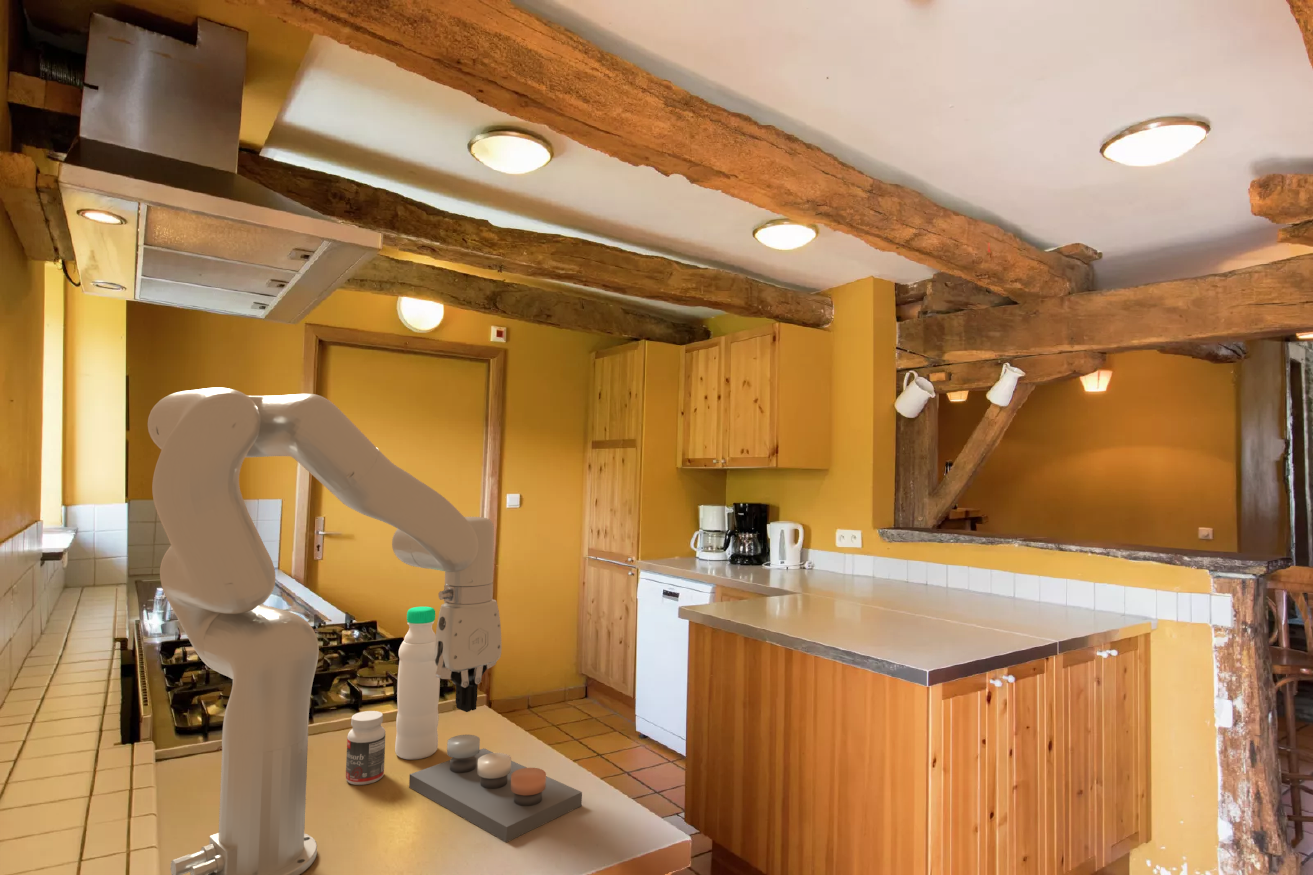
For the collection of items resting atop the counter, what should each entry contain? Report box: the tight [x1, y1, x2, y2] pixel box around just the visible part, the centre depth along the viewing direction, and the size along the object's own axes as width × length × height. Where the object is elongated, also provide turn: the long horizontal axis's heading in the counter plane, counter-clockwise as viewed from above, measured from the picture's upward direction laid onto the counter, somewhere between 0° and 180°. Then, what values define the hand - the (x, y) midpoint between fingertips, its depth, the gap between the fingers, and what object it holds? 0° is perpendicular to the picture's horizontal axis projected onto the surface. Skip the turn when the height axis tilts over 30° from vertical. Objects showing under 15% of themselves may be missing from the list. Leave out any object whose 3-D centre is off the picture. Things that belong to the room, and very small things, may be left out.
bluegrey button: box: [446, 734, 481, 758], centre depth 115 cm, size 5×5×2 cm
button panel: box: [408, 747, 583, 843], centre depth 110 cm, size 14×24×3 cm, turn 50°
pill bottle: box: [345, 710, 386, 786], centre depth 115 cm, size 6×6×10 cm
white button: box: [477, 752, 512, 779], centre depth 110 cm, size 5×5×2 cm
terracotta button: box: [511, 767, 547, 795], centre depth 105 cm, size 5×5×2 cm
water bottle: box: [394, 606, 441, 761], centre depth 126 cm, size 7×7×25 cm
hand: (466, 708), depth 115 cm, fingers closed
